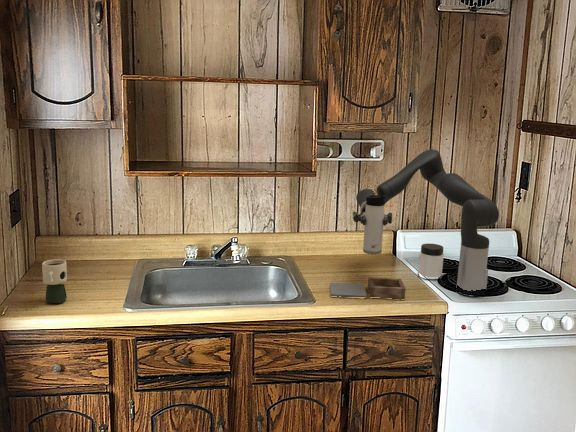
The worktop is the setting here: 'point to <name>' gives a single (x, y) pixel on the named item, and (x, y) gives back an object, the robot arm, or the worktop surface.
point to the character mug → (55, 280)
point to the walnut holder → (386, 288)
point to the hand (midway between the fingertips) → (374, 222)
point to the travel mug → (374, 224)
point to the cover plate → (347, 290)
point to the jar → (431, 260)
